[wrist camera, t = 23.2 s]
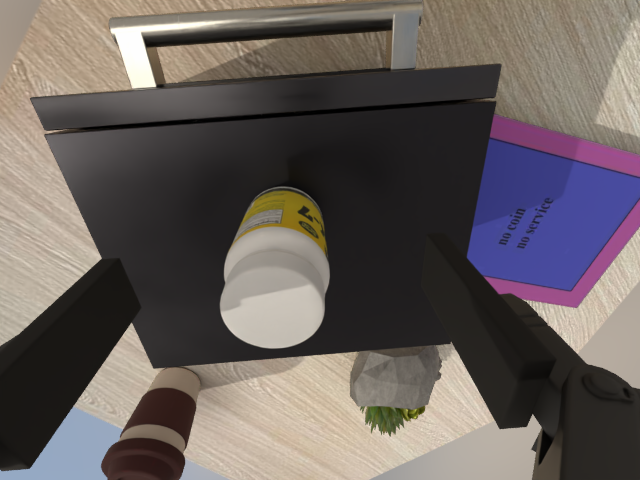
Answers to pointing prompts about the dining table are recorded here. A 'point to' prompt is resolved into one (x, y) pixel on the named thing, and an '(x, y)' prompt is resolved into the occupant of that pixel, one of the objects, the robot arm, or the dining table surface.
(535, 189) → the book
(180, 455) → the coffee cup
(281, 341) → the supplement bottle
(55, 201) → the dining table surface
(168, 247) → the oven
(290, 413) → the dining table surface
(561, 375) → the robot arm
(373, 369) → the potted plant
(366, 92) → the oven door
